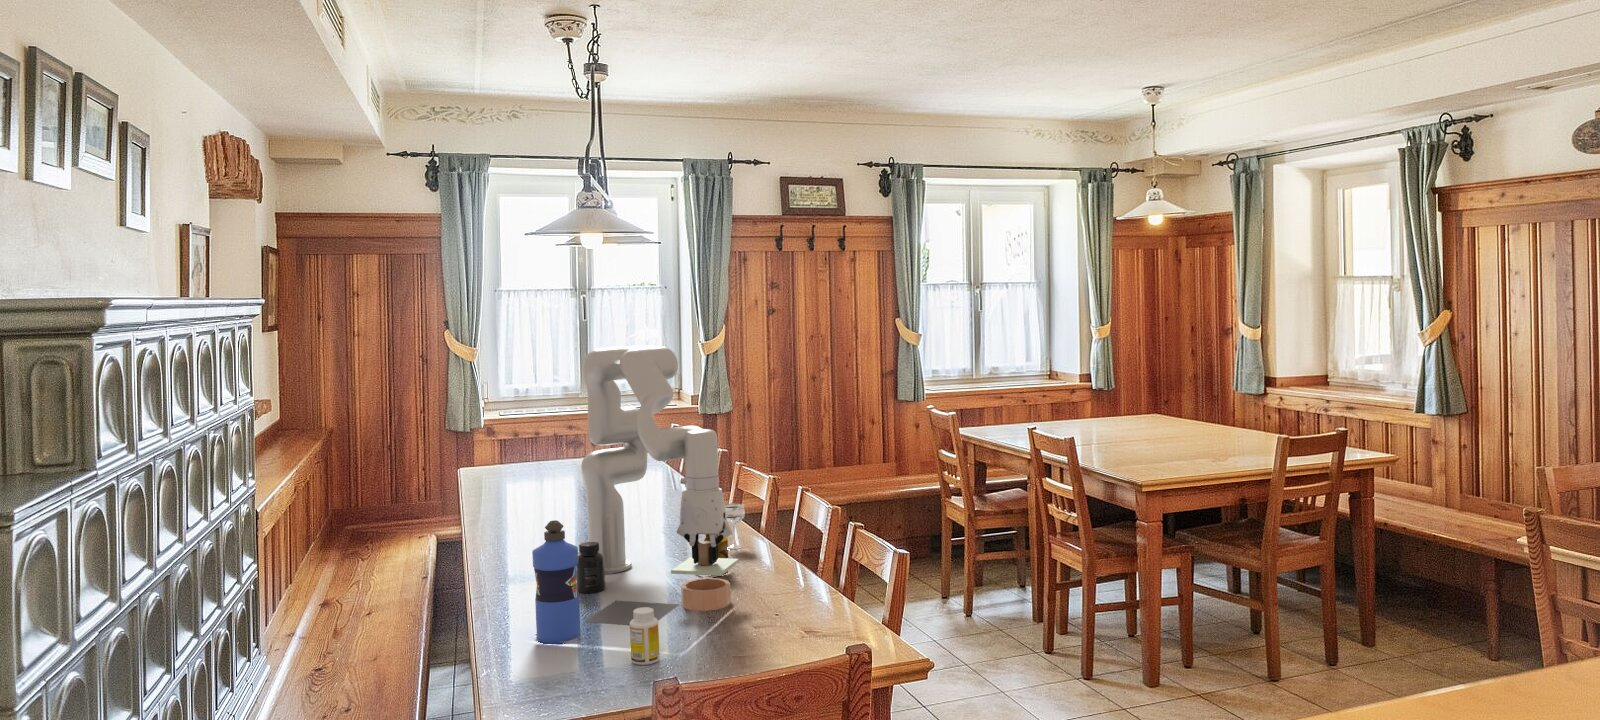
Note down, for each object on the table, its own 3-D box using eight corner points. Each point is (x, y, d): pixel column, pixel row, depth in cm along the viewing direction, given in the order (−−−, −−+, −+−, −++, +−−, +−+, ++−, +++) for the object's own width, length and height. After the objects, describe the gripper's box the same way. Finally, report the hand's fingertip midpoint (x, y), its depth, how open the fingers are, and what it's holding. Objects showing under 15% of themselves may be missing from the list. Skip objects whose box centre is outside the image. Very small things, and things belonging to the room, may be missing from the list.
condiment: (735, 574, 263) (733, 528, 262) (705, 580, 258) (704, 533, 257) (721, 568, 269) (719, 523, 268) (692, 573, 264) (690, 528, 263)
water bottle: (584, 629, 222) (580, 515, 220) (577, 644, 212) (572, 525, 211) (541, 631, 221) (536, 517, 220) (531, 646, 212) (526, 527, 210)
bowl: (675, 611, 233) (674, 590, 232) (693, 597, 243) (692, 576, 243) (720, 614, 230) (719, 592, 229) (736, 600, 240) (736, 579, 240)
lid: (671, 573, 231) (670, 548, 231) (691, 560, 243) (690, 536, 243) (720, 575, 228) (720, 550, 228) (738, 562, 240) (737, 537, 239)
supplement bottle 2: (659, 655, 205) (657, 604, 204) (660, 664, 199) (658, 613, 199) (630, 657, 204) (628, 607, 203) (631, 667, 198) (629, 615, 198)
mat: (583, 624, 225) (583, 621, 225) (615, 602, 240) (615, 600, 240) (650, 629, 221) (650, 626, 221) (679, 606, 236) (678, 604, 236)
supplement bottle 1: (610, 589, 252) (608, 541, 251) (596, 597, 246) (594, 547, 245) (586, 587, 254) (584, 539, 253) (571, 595, 248) (569, 546, 247)
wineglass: (745, 550, 287) (743, 507, 286) (721, 550, 287) (719, 508, 286) (746, 544, 294) (745, 503, 293) (723, 544, 294) (722, 503, 293)
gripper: (662, 485, 233) (665, 565, 234) (730, 487, 229) (733, 568, 230) (675, 479, 240) (678, 557, 241) (741, 481, 236) (744, 559, 237)
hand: (705, 561), depth 236 cm, fingers closed on lid, 3 cm apart
